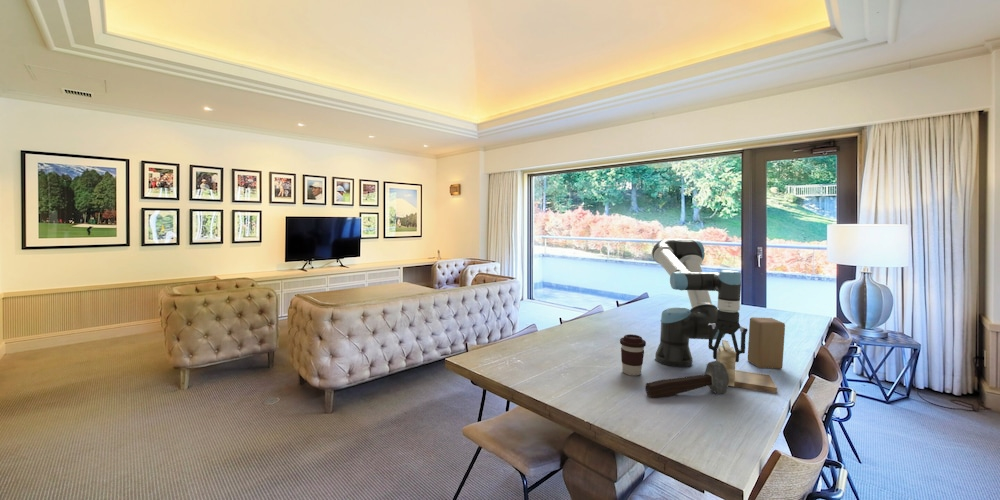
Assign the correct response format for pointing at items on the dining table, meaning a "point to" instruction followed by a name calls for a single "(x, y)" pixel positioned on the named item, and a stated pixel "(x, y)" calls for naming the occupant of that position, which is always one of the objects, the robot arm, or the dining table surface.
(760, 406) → the dining table surface
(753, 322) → the wooden block
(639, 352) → the coffee cup
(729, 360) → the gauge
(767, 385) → the board
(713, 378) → the hammer
